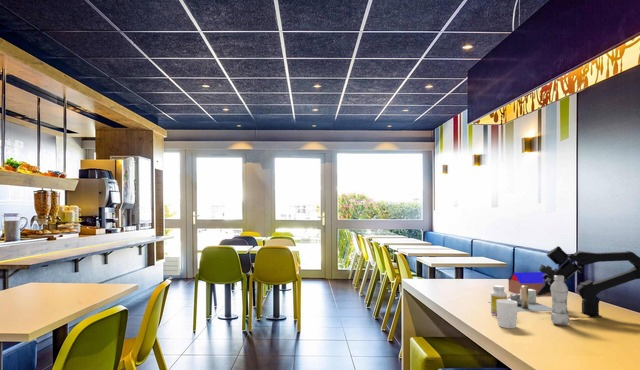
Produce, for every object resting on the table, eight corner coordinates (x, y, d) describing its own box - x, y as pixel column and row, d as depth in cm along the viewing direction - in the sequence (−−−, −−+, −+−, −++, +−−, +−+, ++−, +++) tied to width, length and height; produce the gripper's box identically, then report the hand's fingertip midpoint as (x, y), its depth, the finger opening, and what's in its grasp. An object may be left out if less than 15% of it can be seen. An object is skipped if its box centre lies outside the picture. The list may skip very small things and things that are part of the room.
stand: (558, 312, 196) (558, 297, 196) (509, 313, 193) (509, 298, 194) (532, 303, 216) (532, 289, 216) (487, 303, 213) (487, 289, 214)
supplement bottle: (508, 317, 187) (508, 287, 188) (492, 316, 188) (492, 287, 189) (505, 313, 193) (504, 285, 194) (489, 313, 195) (489, 284, 195)
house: (507, 291, 247) (507, 271, 248) (539, 290, 250) (539, 270, 250) (520, 295, 235) (520, 274, 236) (553, 294, 238) (553, 273, 239)
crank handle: (535, 308, 199) (535, 286, 200) (517, 308, 198) (517, 286, 199) (517, 301, 214) (517, 280, 215) (500, 301, 213) (500, 281, 214)
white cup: (500, 322, 179) (499, 298, 179) (520, 325, 174) (519, 301, 174) (494, 326, 173) (493, 301, 173) (514, 330, 168) (514, 304, 168)
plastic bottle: (560, 327, 172) (559, 277, 173) (547, 323, 178) (546, 274, 179) (573, 326, 173) (572, 276, 174) (559, 322, 180) (558, 274, 181)
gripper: (546, 256, 207) (521, 278, 210) (554, 261, 189) (527, 284, 192) (565, 274, 204) (539, 295, 207) (574, 280, 186) (546, 304, 189)
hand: (537, 294), depth 199 cm, fingers closed
